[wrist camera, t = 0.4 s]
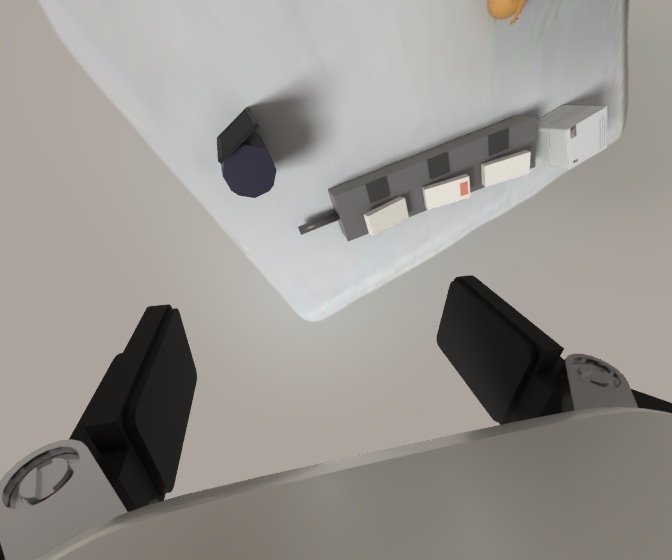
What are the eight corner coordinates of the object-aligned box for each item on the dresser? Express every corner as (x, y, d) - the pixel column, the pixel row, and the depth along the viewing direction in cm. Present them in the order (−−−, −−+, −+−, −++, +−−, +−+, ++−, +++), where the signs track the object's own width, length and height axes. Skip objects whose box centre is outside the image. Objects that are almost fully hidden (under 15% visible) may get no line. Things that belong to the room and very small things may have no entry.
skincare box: (564, 142, 48) (609, 147, 42) (529, 162, 49) (569, 171, 43) (561, 103, 45) (609, 104, 39) (524, 126, 46) (566, 130, 40)
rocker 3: (481, 163, 42) (484, 166, 41) (525, 149, 42) (530, 151, 41) (481, 184, 44) (485, 186, 43) (524, 171, 43) (529, 173, 42)
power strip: (288, 204, 44) (291, 213, 40) (516, 114, 44) (539, 115, 41) (306, 245, 47) (310, 257, 44) (515, 162, 48) (536, 167, 45)
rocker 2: (422, 187, 42) (424, 190, 41) (465, 173, 41) (469, 176, 40) (425, 206, 44) (427, 210, 43) (467, 194, 43) (470, 197, 42)
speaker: (203, 124, 36) (198, 140, 28) (248, 106, 37) (255, 117, 29) (234, 182, 41) (238, 211, 33) (273, 166, 41) (286, 190, 33)
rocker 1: (363, 214, 41) (367, 216, 40) (399, 196, 42) (404, 197, 41) (369, 233, 43) (373, 236, 42) (403, 215, 44) (408, 217, 43)
